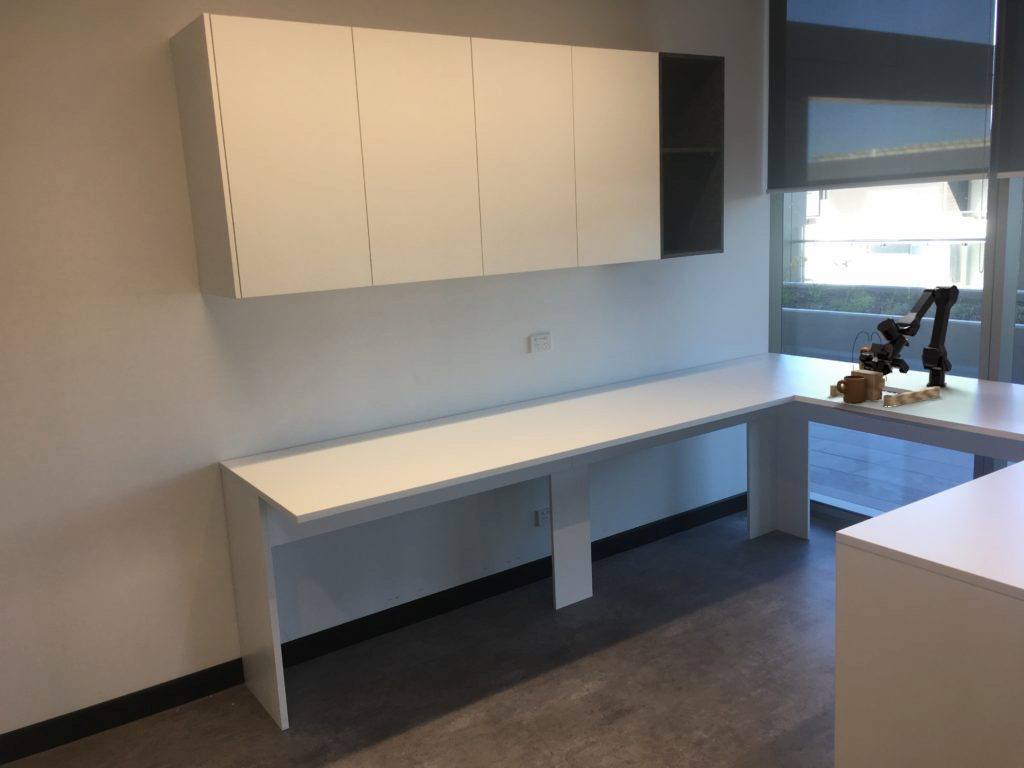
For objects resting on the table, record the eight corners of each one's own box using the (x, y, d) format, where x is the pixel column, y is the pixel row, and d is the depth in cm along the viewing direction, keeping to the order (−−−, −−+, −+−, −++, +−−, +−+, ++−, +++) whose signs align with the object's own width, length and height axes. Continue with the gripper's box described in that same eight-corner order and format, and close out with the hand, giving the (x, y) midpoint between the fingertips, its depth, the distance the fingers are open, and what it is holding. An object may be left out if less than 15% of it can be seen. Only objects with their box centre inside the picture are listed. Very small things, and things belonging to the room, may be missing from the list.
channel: (880, 386, 330) (880, 376, 329) (939, 396, 307) (940, 385, 307) (830, 395, 318) (830, 385, 317) (887, 407, 295) (888, 396, 294)
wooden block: (859, 395, 314) (860, 369, 312) (882, 399, 305) (883, 372, 303) (850, 397, 312) (851, 370, 310) (872, 401, 303) (873, 374, 301)
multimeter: (841, 380, 345) (842, 333, 341) (854, 377, 351) (855, 330, 347) (874, 384, 333) (875, 335, 330) (887, 381, 339) (889, 332, 335)
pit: (885, 387, 328) (885, 386, 328) (933, 395, 310) (933, 394, 309) (873, 389, 325) (873, 388, 325) (921, 398, 306) (921, 396, 306)
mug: (844, 406, 299) (845, 381, 297) (829, 403, 306) (829, 378, 304) (869, 402, 304) (870, 377, 302) (854, 399, 311) (854, 374, 309)
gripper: (862, 332, 316) (841, 364, 313) (905, 337, 299) (883, 371, 296) (876, 350, 321) (855, 382, 318) (918, 356, 304) (897, 389, 301)
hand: (871, 380), depth 308 cm, fingers closed, pressing on wooden block
